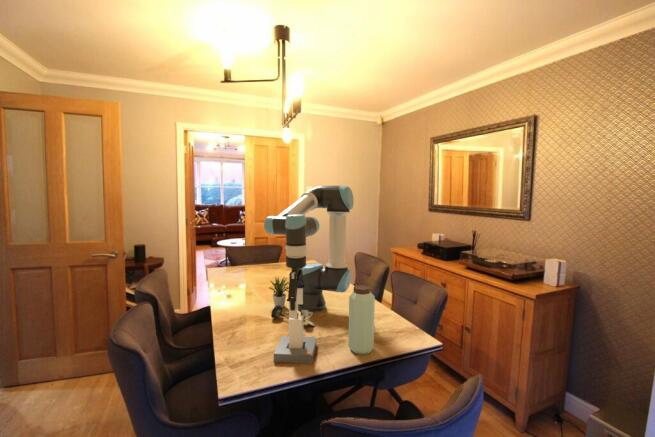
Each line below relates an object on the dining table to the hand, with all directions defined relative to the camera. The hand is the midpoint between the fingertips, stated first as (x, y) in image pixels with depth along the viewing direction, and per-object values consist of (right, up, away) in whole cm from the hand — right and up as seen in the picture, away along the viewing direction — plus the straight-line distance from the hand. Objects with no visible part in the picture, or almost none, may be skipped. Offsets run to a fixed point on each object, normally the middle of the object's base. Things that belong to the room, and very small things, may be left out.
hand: (296, 310), depth 119 cm
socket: (0, -16, +1) cm, 16 cm away
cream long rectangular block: (0, -16, +1) cm, 17 cm away
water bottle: (+25, -17, +4) cm, 30 cm away
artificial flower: (-4, -14, +29) cm, 33 cm away
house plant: (-14, -12, +48) cm, 52 cm away
